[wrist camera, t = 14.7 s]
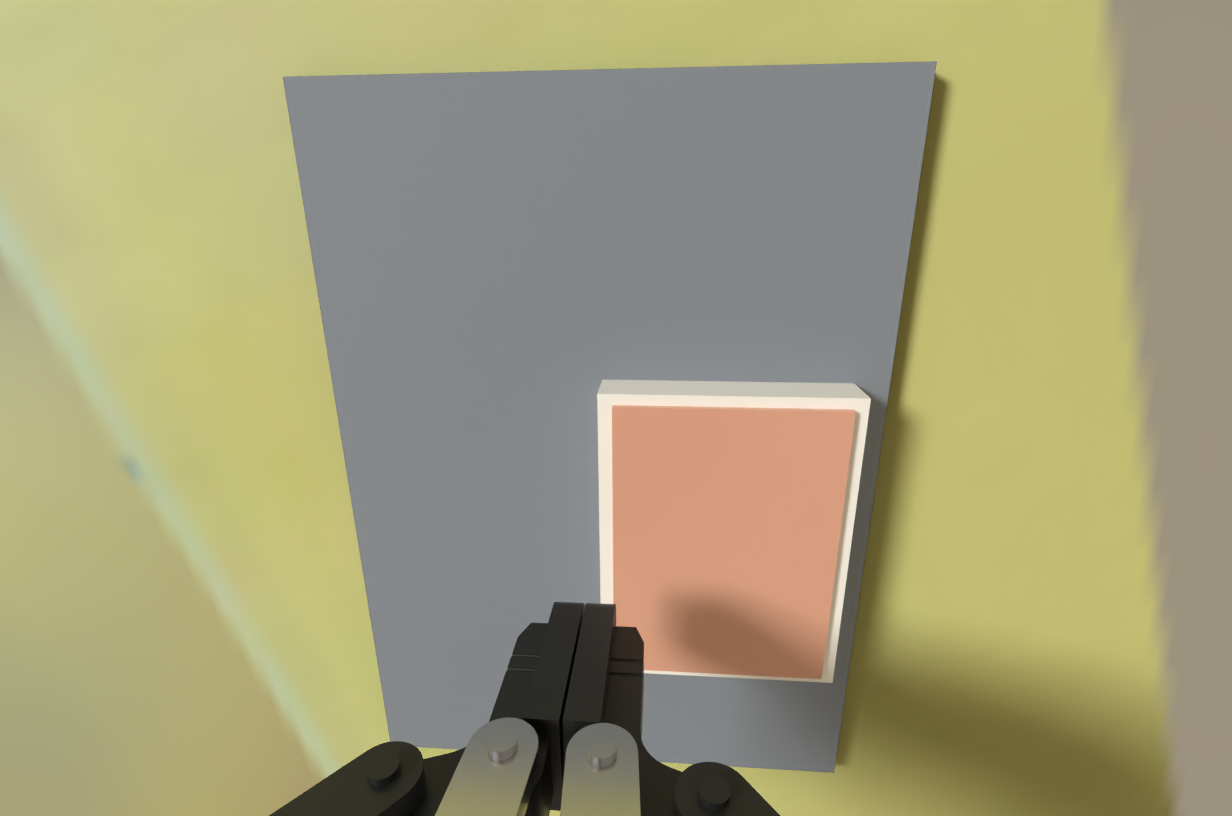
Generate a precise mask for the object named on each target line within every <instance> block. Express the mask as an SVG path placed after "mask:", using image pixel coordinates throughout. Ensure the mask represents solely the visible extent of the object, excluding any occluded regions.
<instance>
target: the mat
mask: <svg viewBox="0 0 1232 816" xmlns="http://www.w3.org/2000/svg"><path fill="white" fill-rule="evenodd" d="M936 63H937V61H936V62H893V63H851V64H808V65H765V66H723V67H680V68H637V69H595V70H552V71H509V72H467V73H424V74H381V75H339V76H296V77H283V81H284V88H285V94H286V100H287V106H288V112H289V118H290V125H291V131H292V137H293V143H294V149H295V155H296V162H297V168H298V174H299V180H300V186H301V193H302V199H303V205H304V211H305V217H306V223H307V230H308V236H309V242H310V248H311V254H312V261H313V267H314V273H315V279H316V285H317V291H318V298H319V304H320V310H321V316H322V322H323V328H324V335H325V341H326V347H327V353H328V359H329V366H330V372H331V378H332V384H333V390H334V396H335V403H336V409H337V415H338V421H339V427H340V434H341V440H342V446H343V452H344V458H345V464H346V471H347V477H348V483H349V489H350V495H351V501H352V508H353V514H354V520H355V526H356V532H357V539H358V545H359V551H360V557H361V563H362V569H363V576H364V582H365V588H366V594H367V600H368V607H369V613H370V619H371V625H372V631H373V637H374V644H375V650H376V656H377V662H378V668H379V674H380V681H381V687H382V693H383V699H384V705H385V712H386V718H387V724H388V730H389V736H390V742H392V741H402V742H407V743H410V744H412V745H414V746H415V747H427V748H443V749H462V748H464V747H466V746H467V744H468V742H469V740H470V738H471V737H472V735H473V734H474V733H475V732H476V731H477V730H478V729H479V728H480V727H482V726H483V725H484V724H486V723H488V722H489V720H490V717H491V714H492V711H493V708H494V705H495V702H496V699H497V696H498V693H499V691H500V688H501V685H502V682H503V679H504V676H505V673H506V671H507V668H508V664H509V661H510V658H511V657H512V652H513V650H514V647H515V644H516V641H517V638H518V636H519V635H520V634H521V633H522V632H523V631H524V630H525V629H526V628H527V627H528V626H529V624H530V623H548V622H549V618H550V614H551V611H552V607H553V604H554V602H573V603H584V604H585V605H586V603H599V604H601V599H600V537H599V474H598V412H597V393H598V390H599V388H600V385H601V382H602V380H666V381H731V382H796V383H854V384H856V385H857V386H858V387H859V388H860V389H861V390H862V391H863V392H864V393H865V394H866V395H868V396H869V397H870V398H871V402H870V409H869V417H868V424H867V432H866V439H865V446H864V454H863V461H862V468H861V476H860V483H859V491H858V498H857V505H856V513H855V520H854V527H853V535H852V542H851V550H850V557H849V564H848V572H847V579H846V586H845V594H844V601H843V609H842V616H841V623H840V631H839V638H838V645H837V653H836V660H835V668H834V675H833V682H832V683H824V682H805V681H786V680H766V679H747V678H727V677H708V676H688V675H669V674H649V673H644V694H643V718H642V742H643V745H644V747H645V748H646V750H647V751H648V752H649V754H650V755H651V756H652V757H653V758H655V759H656V760H657V761H658V762H670V763H686V764H697V763H700V762H717V763H721V764H724V765H726V766H734V767H750V768H766V769H783V770H799V771H815V772H831V773H834V769H835V762H836V755H837V748H838V741H839V734H840V727H841V720H842V713H843V706H844V700H845V693H846V686H847V679H848V672H849V665H850V658H851V651H852V644H853V637H854V630H855V623H856V617H857V610H858V603H859V596H860V589H861V582H862V575H863V568H864V561H865V554H866V547H867V540H868V534H869V527H870V520H871V513H872V506H873V499H874V492H875V485H876V478H877V471H878V464H879V457H880V451H881V444H882V437H883V430H884V423H885V416H886V409H887V402H888V395H889V388H890V381H891V374H892V368H893V361H894V354H895V347H896V340H897V333H898V326H899V319H900V312H901V305H902V298H903V291H904V285H905V278H906V271H907V264H908V257H909V250H910V243H911V236H912V229H913V222H914V215H915V209H916V202H917V195H918V188H919V181H920V174H921V167H922V160H923V153H924V146H925V139H926V132H927V126H928V119H929V112H930V105H931V98H932V91H933V84H934V77H935V70H936Z"/></svg>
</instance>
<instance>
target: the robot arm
mask: <svg viewBox="0 0 1232 816" xmlns="http://www.w3.org/2000/svg"><path fill="white" fill-rule="evenodd" d="M643 694H644V641H643V640H642V638H641V636H640V634H639V632H638V630H637V628H636V627H622V626H616V604H599V603H586V605H585V604H584V603H573V602H554V604H553V607H552V611H551V614H550V618H549V622H548V623H530V624H529V626H528V627H527V628H526V629H525V630H524V631H523V632H522V633H521V634H520V635H519V636H518V638H517V641H516V644H515V647H514V650H513V652H512V657H511V658H510V661H509V664H508V668H507V671H506V673H505V676H504V679H503V682H502V685H501V688H500V691H499V693H498V696H497V699H496V702H495V705H494V708H493V711H492V714H491V717H490V720H489V722H488V723H486V724H484V725H483V726H482V727H480V728H479V729H478V730H477V731H476V732H475V733H474V734H473V735H472V737H471V738H470V740H469V742H468V744H467V746H466V747H464V748H462V749H460V750H458V751H455V752H452V753H448V754H444V755H440V756H435V757H431V758H427V759H423V757H422V754H421V752H420V751H419V749H418V748H416V747H415V746H414V745H412V744H410V743H407V742H402V741H392V742H386V743H383V744H380V745H377V746H375V747H373V748H371V749H370V750H368V751H366V752H365V753H363V754H362V755H360V756H359V757H357V758H356V759H354V760H353V761H351V762H350V763H348V764H346V765H345V766H343V767H342V768H340V769H339V770H337V771H336V772H334V773H333V774H331V775H330V776H328V777H327V778H325V779H324V780H322V781H321V782H319V783H318V784H316V785H315V786H313V787H312V788H310V789H309V790H307V791H306V792H304V793H303V794H301V795H300V796H298V797H297V798H295V799H294V800H292V801H291V802H289V803H288V804H286V805H284V806H283V807H281V808H280V809H279V810H277V811H275V812H274V813H272V814H271V815H269V816H549V813H550V810H559V811H560V816H780V815H779V814H778V813H777V812H776V811H775V810H774V809H773V808H772V807H771V806H770V805H769V804H768V803H767V802H766V801H765V800H764V799H763V797H762V796H761V795H760V794H759V793H758V792H757V791H756V790H755V789H754V788H753V787H752V786H751V785H750V784H749V783H748V782H747V781H746V780H745V779H744V778H743V777H742V776H741V775H740V774H739V773H738V772H737V771H735V770H734V769H732V768H730V767H728V766H726V765H724V764H721V763H717V762H700V763H697V764H693V765H692V766H690V767H688V768H687V769H685V770H684V771H683V772H680V771H678V770H675V769H673V768H670V767H668V766H666V765H663V764H662V763H660V762H658V761H657V760H656V759H655V758H653V757H652V756H651V755H650V754H649V752H648V751H647V750H646V748H645V747H644V745H643V742H642V718H643Z"/></svg>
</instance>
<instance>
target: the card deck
mask: <svg viewBox="0 0 1232 816" xmlns="http://www.w3.org/2000/svg"><path fill="white" fill-rule="evenodd" d="M870 402H871V398H870V397H869V396H868V395H866V394H865V393H864V392H863V391H862V390H861V389H860V388H859V387H858V386H857V385H856V384H854V383H796V382H731V381H666V380H602V382H601V385H600V388H599V390H598V393H597V412H598V474H599V537H600V599H601V604H616V626H622V627H636V628H637V630H638V632H639V634H640V636H641V638H642V640H643V641H644V673H649V674H669V675H688V676H708V677H727V678H747V679H766V680H786V681H805V682H824V683H832V682H833V675H834V668H835V660H836V653H837V645H838V638H839V631H840V623H841V616H842V609H843V601H844V594H845V586H846V579H847V572H848V564H849V557H850V550H851V542H852V535H853V527H854V520H855V513H856V505H857V498H858V491H859V483H860V476H861V468H862V461H863V454H864V446H865V439H866V432H867V424H868V417H869V409H870Z"/></svg>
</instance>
